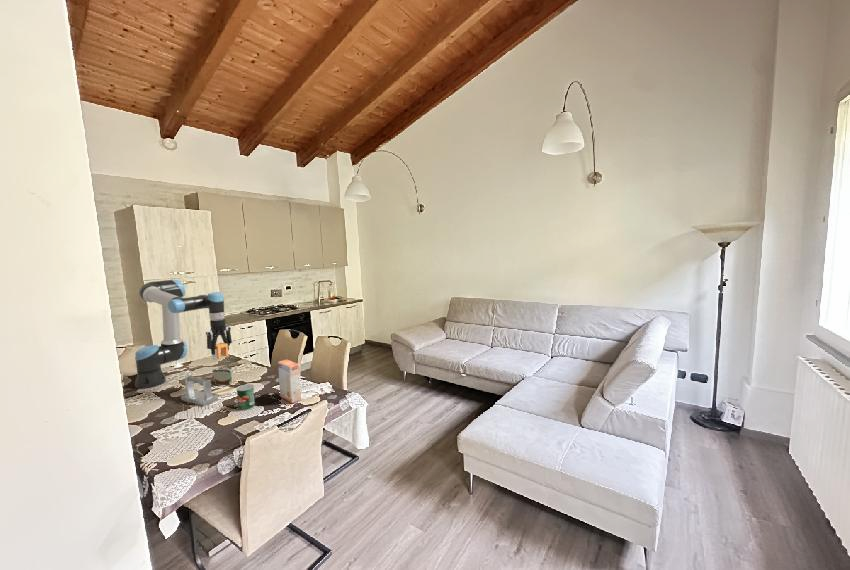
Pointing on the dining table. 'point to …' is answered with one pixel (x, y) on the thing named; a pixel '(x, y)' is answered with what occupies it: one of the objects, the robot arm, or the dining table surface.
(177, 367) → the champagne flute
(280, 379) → the cracker box
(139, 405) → the dining table surface
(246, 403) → the canned tomato
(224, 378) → the food container
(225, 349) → the orange notched sleeve
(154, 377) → the robot arm
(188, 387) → the rail stand
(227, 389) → the pad
